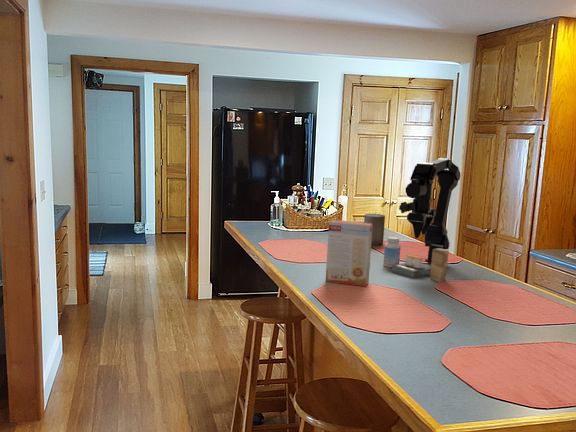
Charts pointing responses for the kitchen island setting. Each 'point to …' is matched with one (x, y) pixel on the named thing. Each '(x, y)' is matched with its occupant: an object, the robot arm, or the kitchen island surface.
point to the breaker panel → (411, 270)
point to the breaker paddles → (413, 261)
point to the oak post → (439, 264)
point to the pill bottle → (392, 252)
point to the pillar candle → (376, 227)
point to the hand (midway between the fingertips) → (420, 236)
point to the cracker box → (349, 252)
